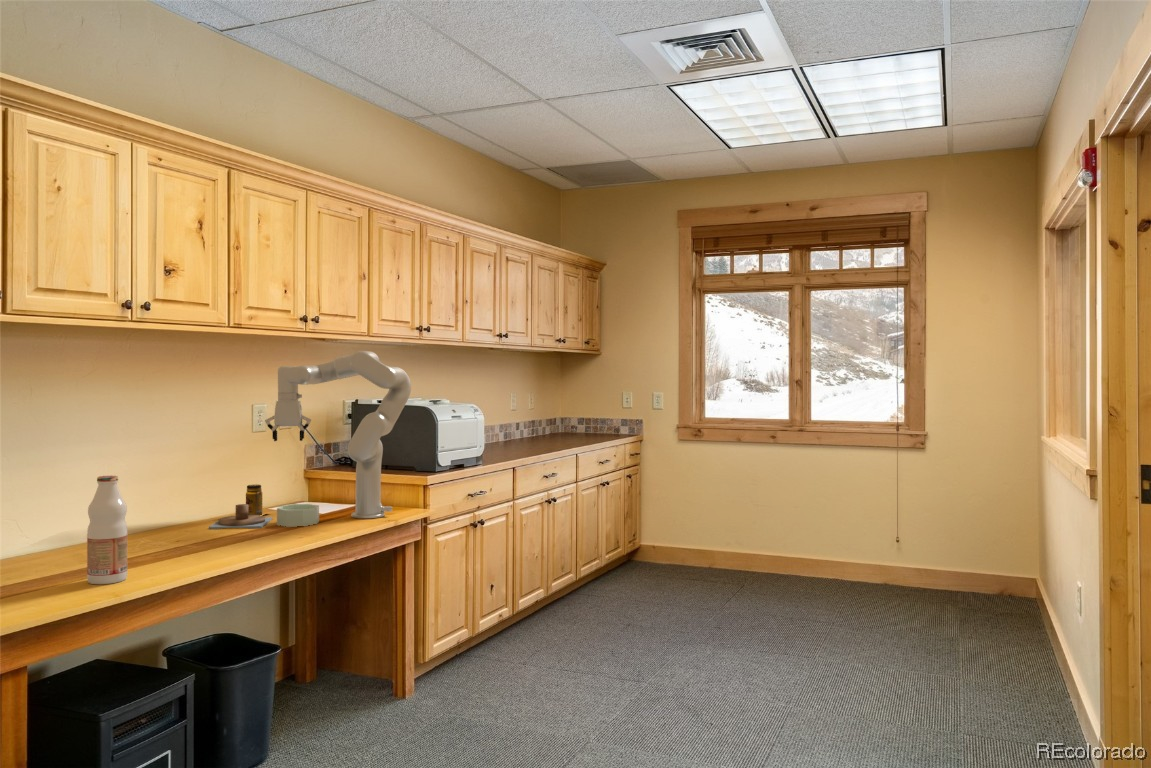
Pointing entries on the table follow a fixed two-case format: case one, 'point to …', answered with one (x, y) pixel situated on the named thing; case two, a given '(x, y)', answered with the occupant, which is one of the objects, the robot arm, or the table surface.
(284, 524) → the bowl
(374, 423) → the robot arm
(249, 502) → the condiment
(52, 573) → the table surface
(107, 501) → the fruit juice
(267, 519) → the mat
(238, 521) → the lid
